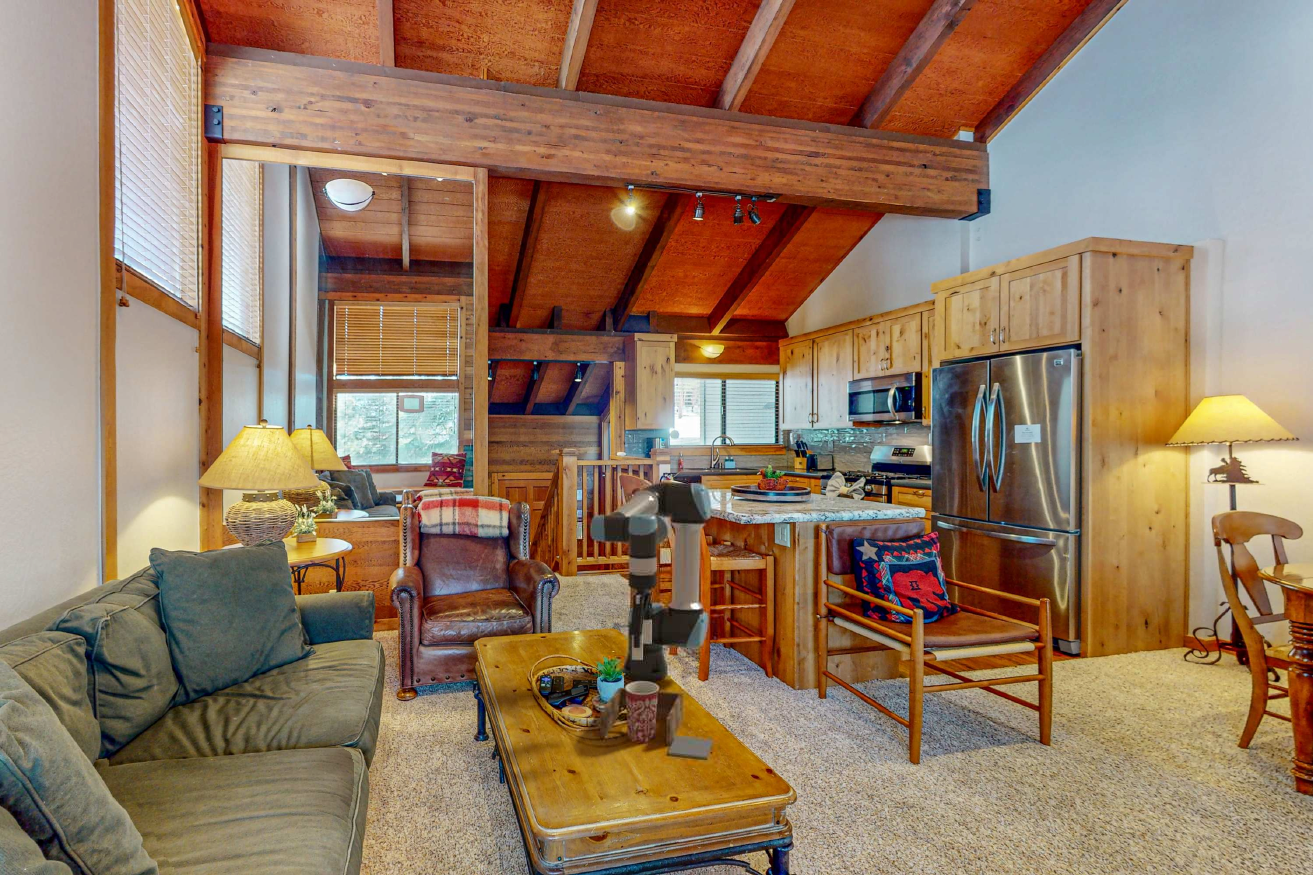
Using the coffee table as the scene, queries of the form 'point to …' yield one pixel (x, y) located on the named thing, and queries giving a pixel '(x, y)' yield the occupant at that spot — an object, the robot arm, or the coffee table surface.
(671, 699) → the wooden u-shaped barrier
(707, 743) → the pad
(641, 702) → the mug
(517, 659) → the coffee table surface
